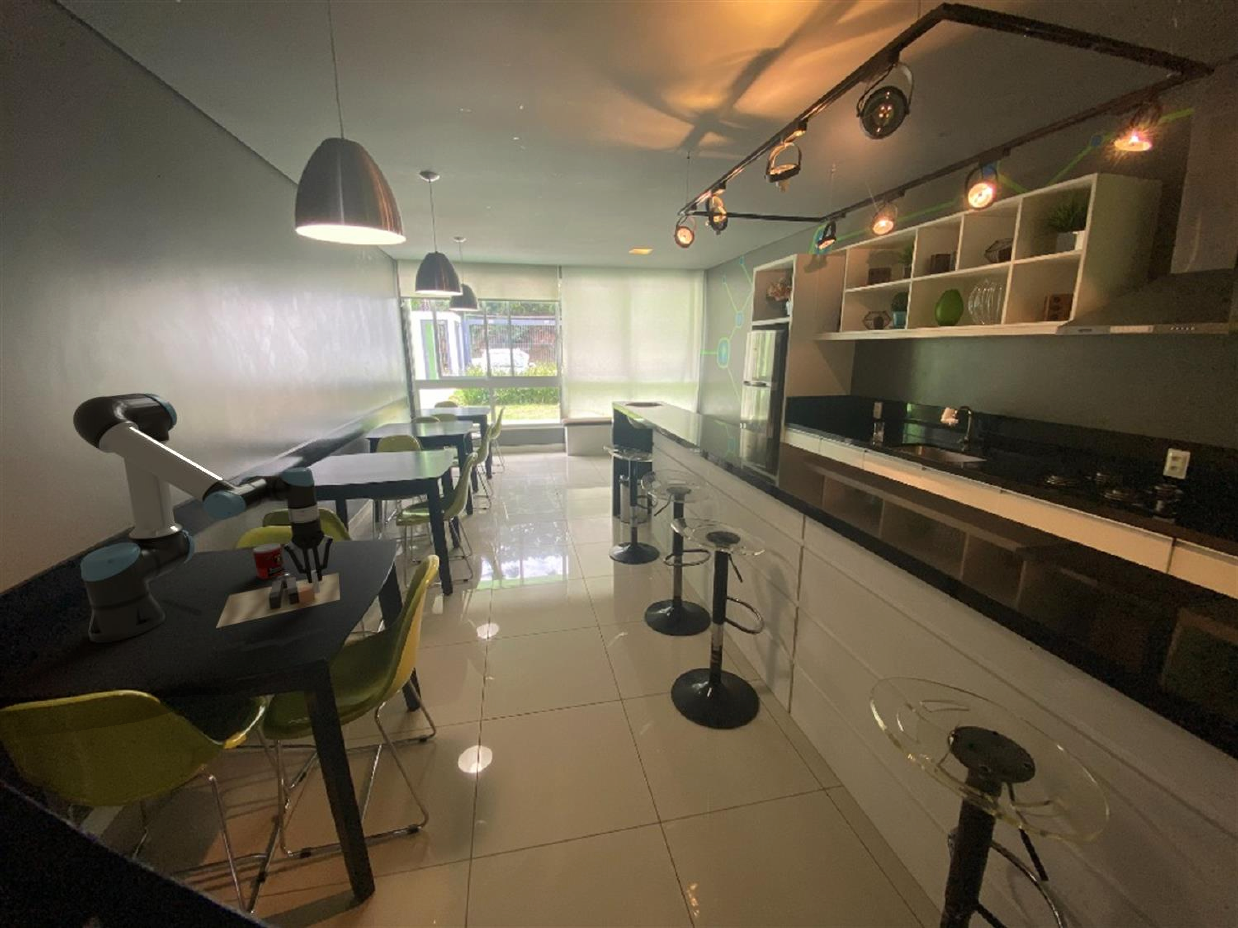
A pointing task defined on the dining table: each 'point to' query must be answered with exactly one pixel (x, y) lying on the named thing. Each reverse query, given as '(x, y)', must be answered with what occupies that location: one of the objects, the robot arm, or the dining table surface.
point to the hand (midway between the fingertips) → (317, 591)
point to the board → (258, 603)
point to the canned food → (268, 560)
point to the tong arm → (292, 591)
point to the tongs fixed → (278, 590)
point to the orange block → (306, 594)
